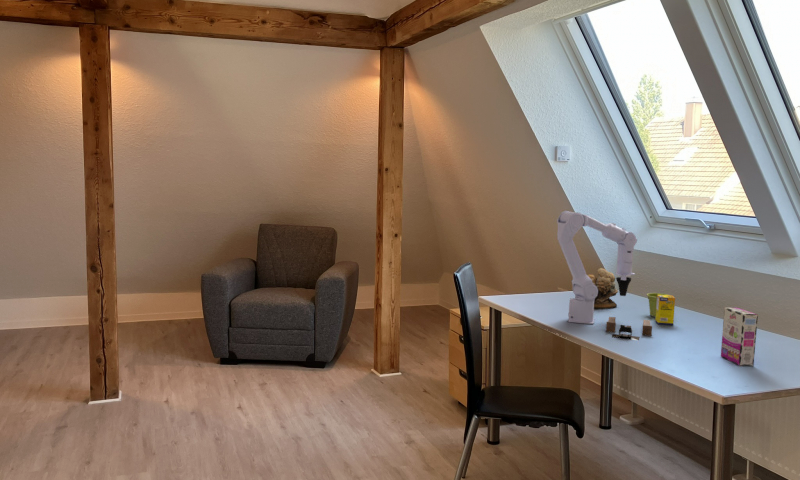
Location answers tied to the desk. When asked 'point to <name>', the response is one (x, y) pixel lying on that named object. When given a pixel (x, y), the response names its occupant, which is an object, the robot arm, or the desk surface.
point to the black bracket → (624, 336)
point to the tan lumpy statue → (604, 289)
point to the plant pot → (653, 302)
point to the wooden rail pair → (645, 331)
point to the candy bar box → (739, 336)
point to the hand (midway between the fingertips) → (622, 295)
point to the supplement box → (665, 309)
